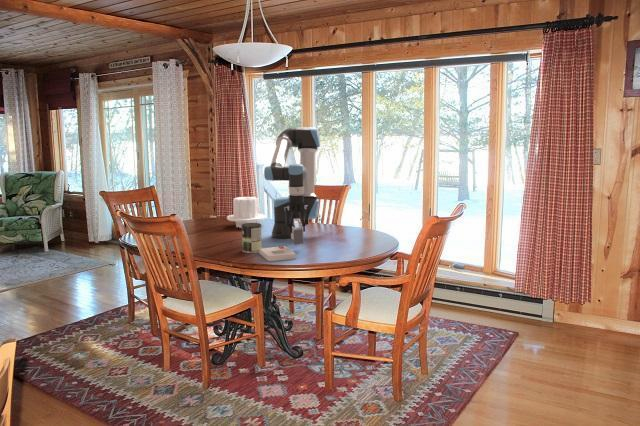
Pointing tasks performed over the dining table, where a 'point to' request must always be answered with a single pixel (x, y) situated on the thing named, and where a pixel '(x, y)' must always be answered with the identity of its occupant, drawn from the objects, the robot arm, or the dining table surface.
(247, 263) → the dining table surface
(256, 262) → the dining table surface
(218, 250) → the dining table surface
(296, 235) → the plug
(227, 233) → the dining table surface
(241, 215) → the ribbed cylinder on disc
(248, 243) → the coffee can
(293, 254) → the socket plate
